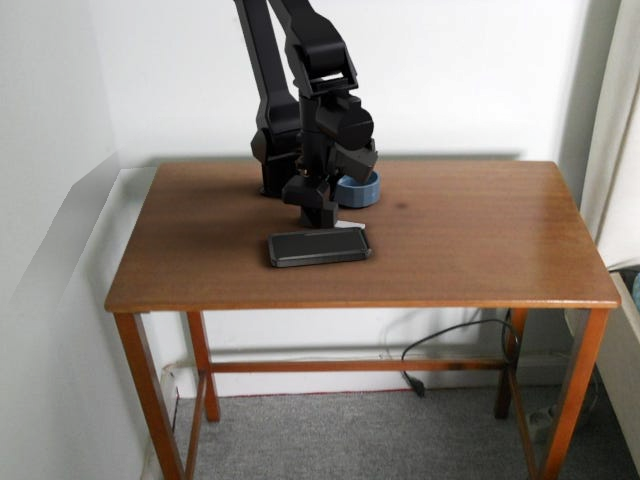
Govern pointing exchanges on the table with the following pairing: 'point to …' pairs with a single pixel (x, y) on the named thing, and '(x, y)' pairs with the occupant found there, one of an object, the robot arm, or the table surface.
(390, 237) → the table surface
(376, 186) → the bowl
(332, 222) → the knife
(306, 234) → the phone
